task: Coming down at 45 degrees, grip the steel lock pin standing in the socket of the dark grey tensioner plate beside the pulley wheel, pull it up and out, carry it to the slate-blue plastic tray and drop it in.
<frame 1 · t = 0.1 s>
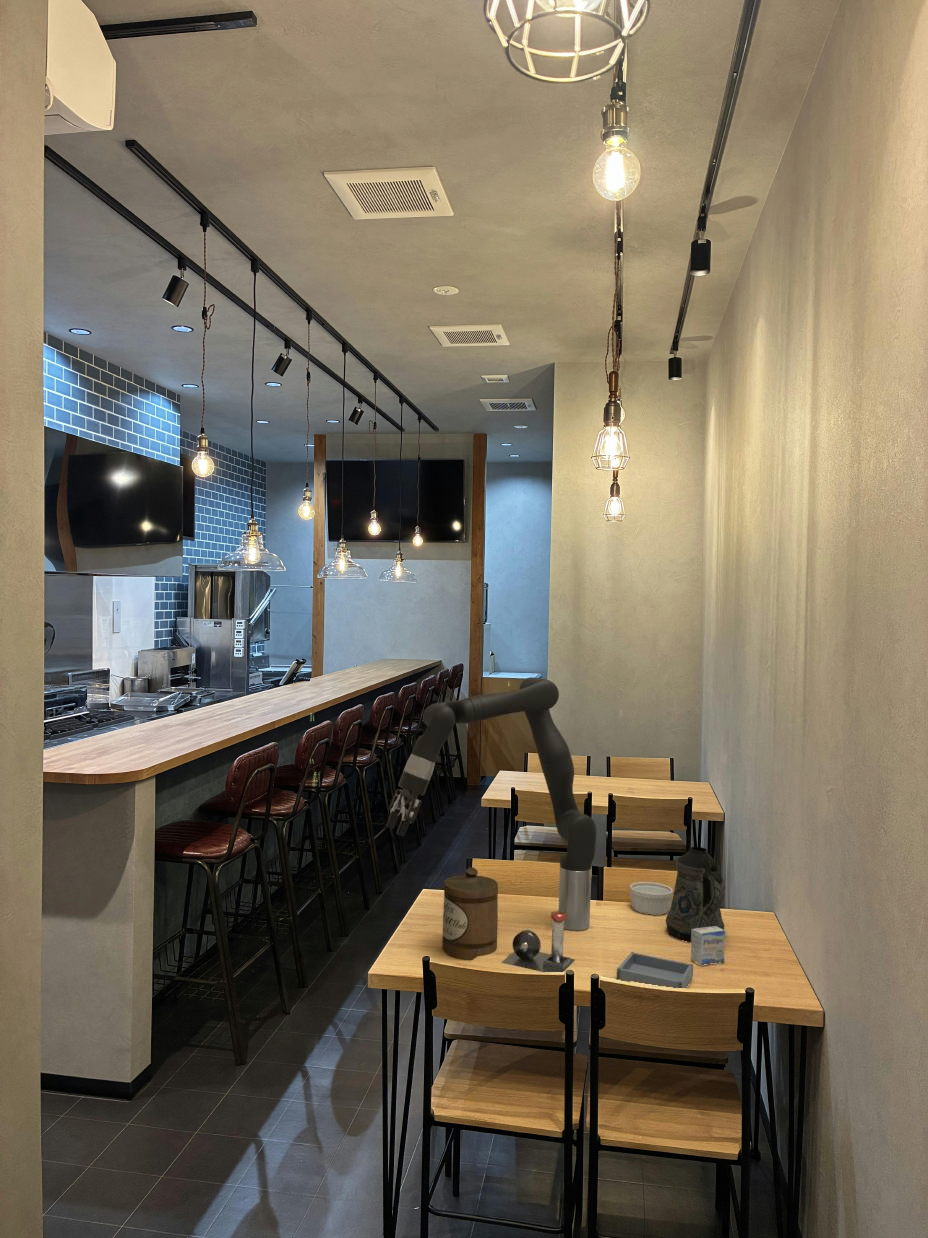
hand: (394, 831, 234), 31 cm above the table, tool tilted 20°, fingers open, 8 cm apart
beer stein: (699, 936, 252), on the table
tensioner: (538, 965, 226), on the table
wooden container: (469, 950, 235), on the table
tray: (655, 981, 218), on the table
lock pin: (556, 965, 224), point 1 cm above the table, touching tensioner
ramekin: (650, 910, 273), on the table
medicine box: (707, 962, 232), on the table
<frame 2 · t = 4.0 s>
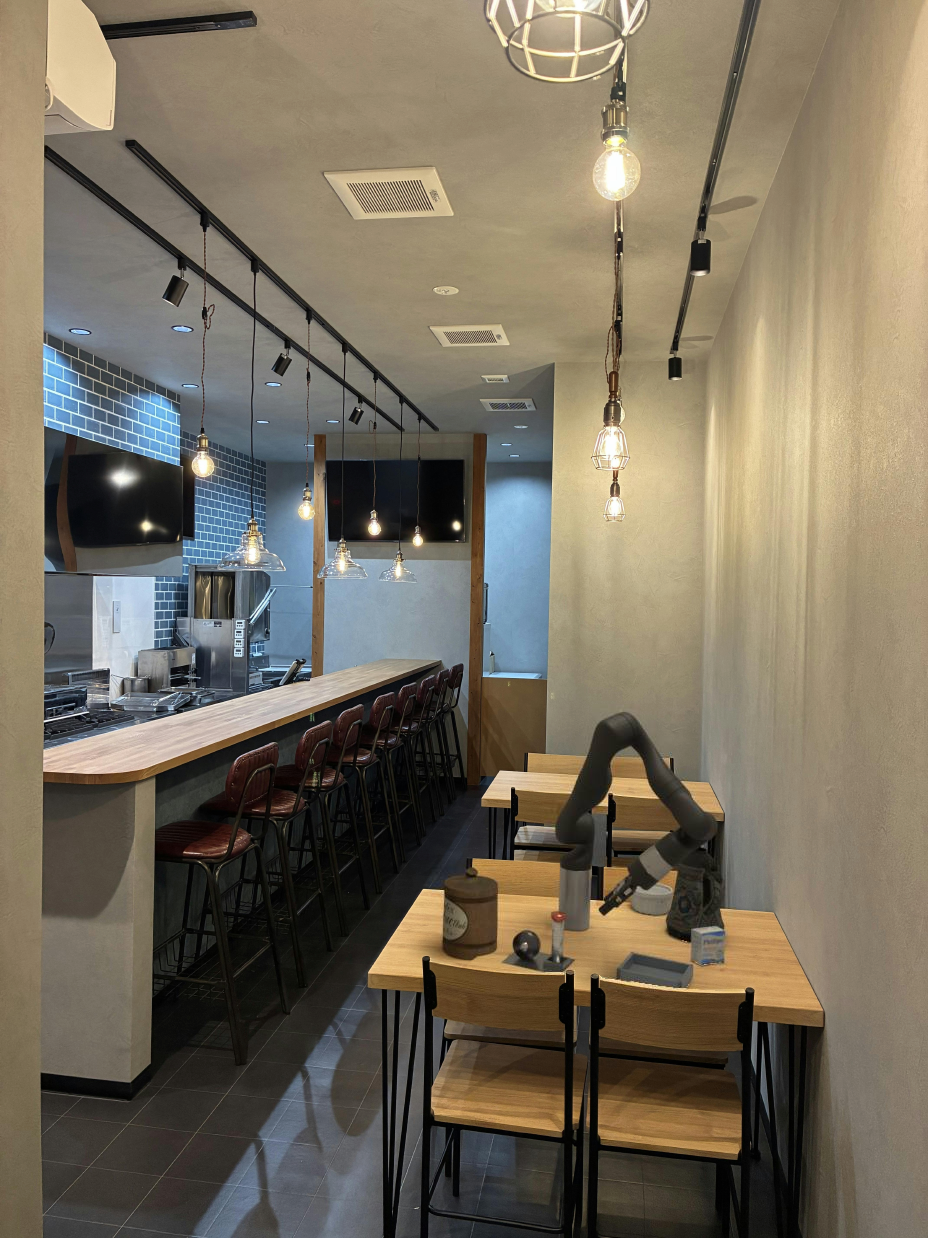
hand: (603, 907, 220), 17 cm above the table, tool tilted 45°, fingers open, 8 cm apart
nothing on the table moved.
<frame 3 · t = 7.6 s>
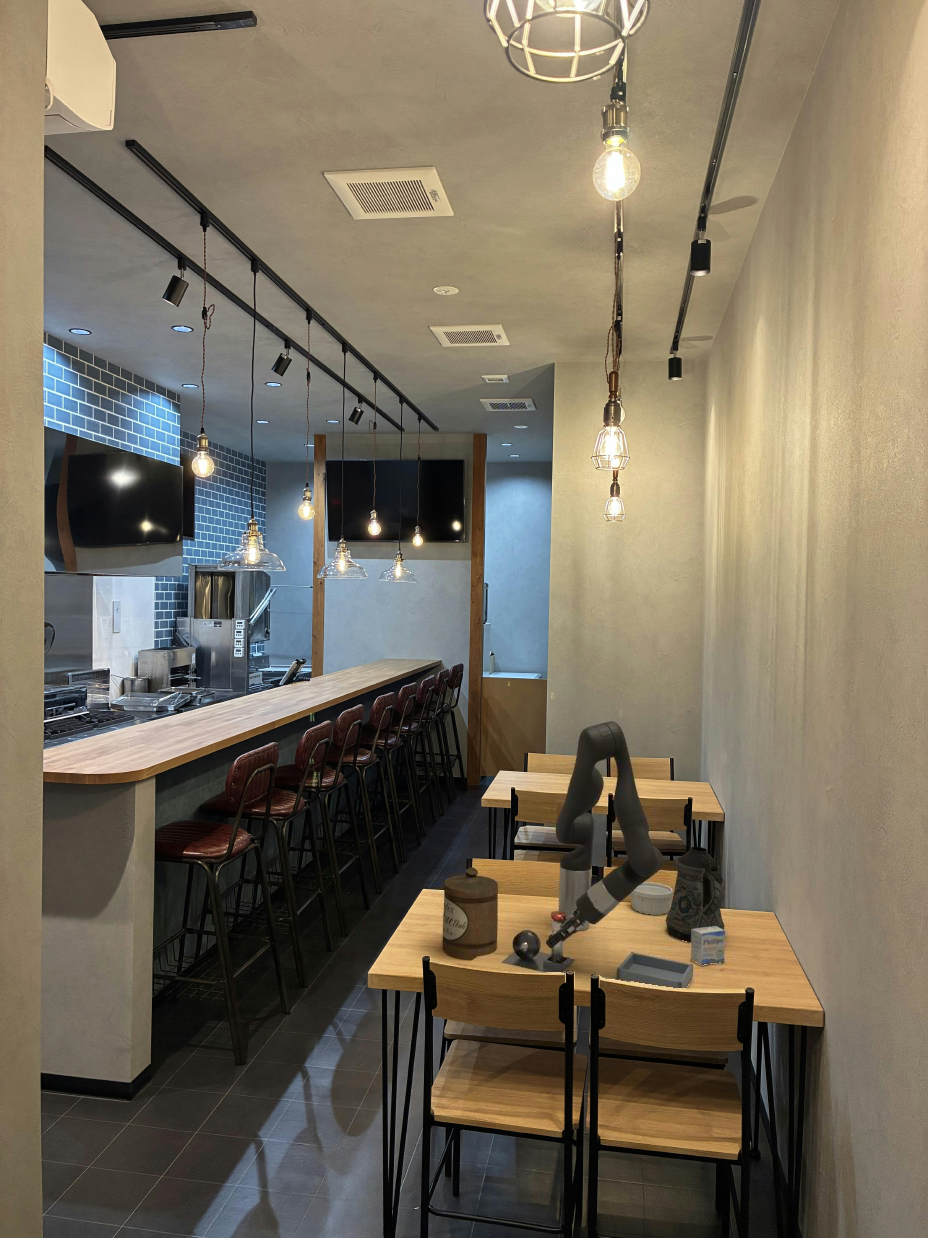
hand: (549, 942, 224), 6 cm above the table, tool tilted 45°, fingers closed on lock pin, 3 cm apart
lock pin: (556, 965, 224), point 1 cm above the table, touching gripper, tensioner
everything else where it was.
when the fingers open (9 cm above the table, at t = 13.5 s): lock pin drops 2 cm, resting on tray.
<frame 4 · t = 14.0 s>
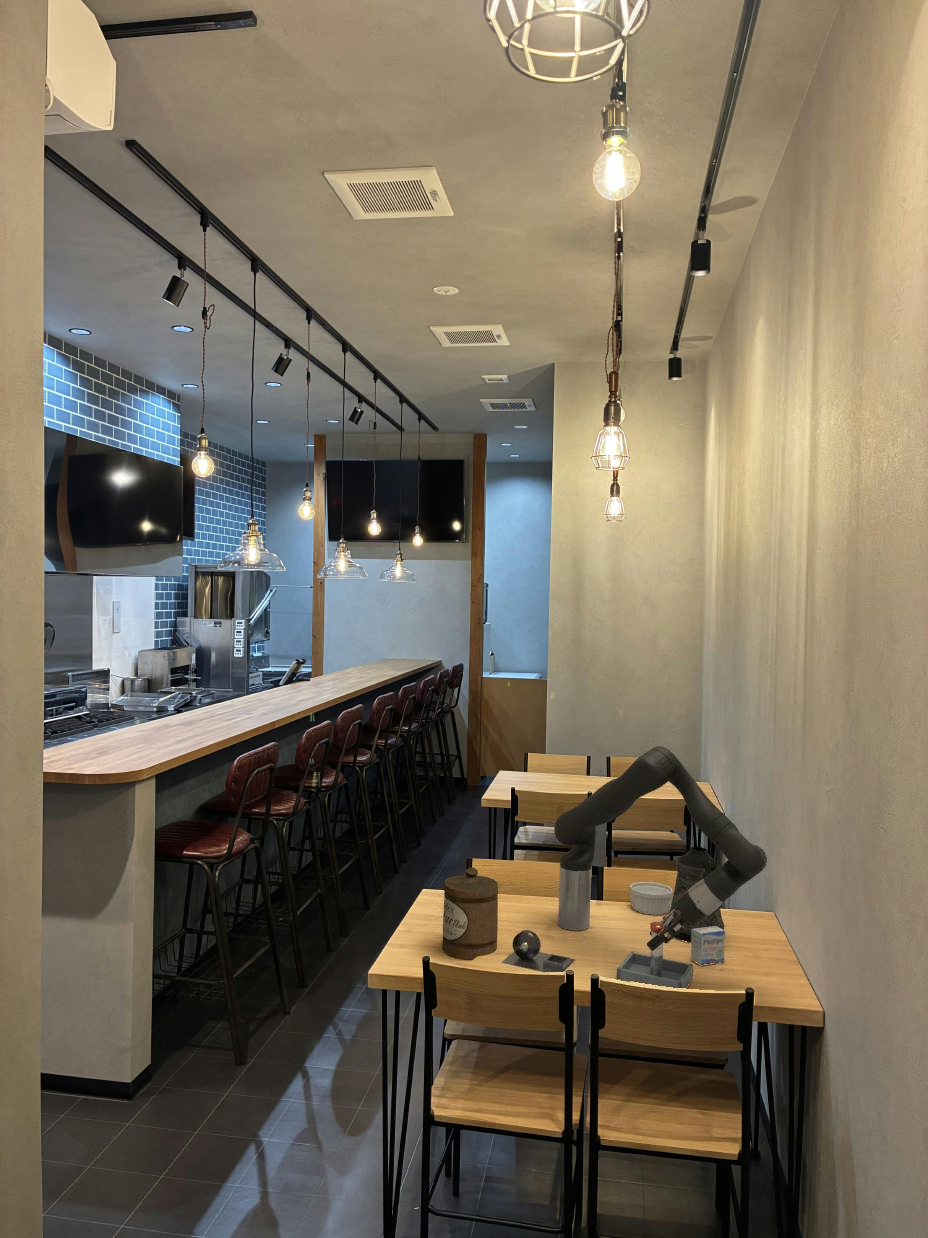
hand: (650, 942, 219), 10 cm above the table, tool tilted 45°, fingers open, 8 cm apart
lock pin: (655, 976, 218), point 1 cm above the table, touching tray
everything else where it was.
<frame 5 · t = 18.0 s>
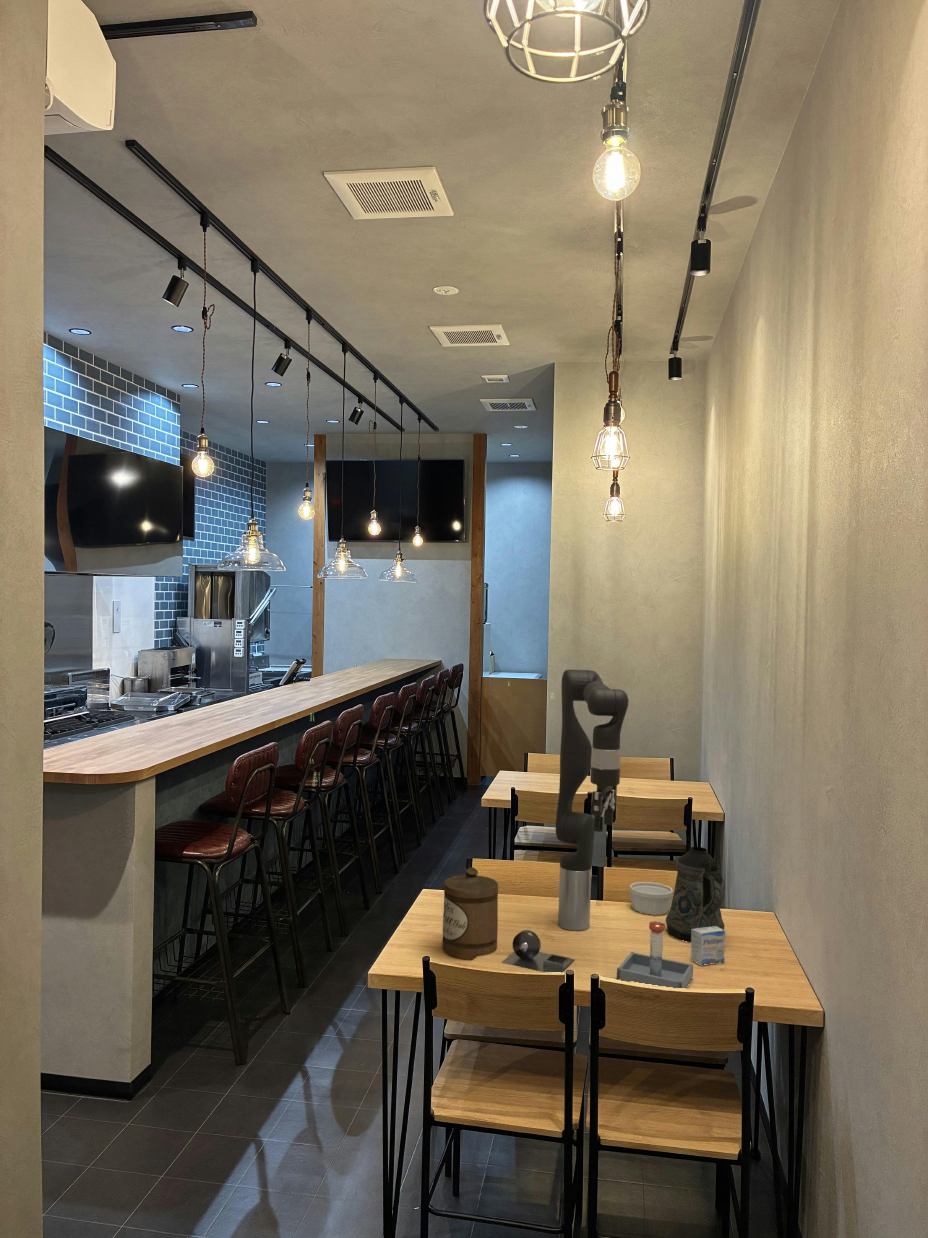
hand: (603, 828, 226), 36 cm above the table, tool pointing down, fingers open, 8 cm apart
nothing on the table moved.
at the end: lock pin inside the target area on the tray (0.1 cm from its centre), point 1.0 cm above the tray's base; the gripper is holding nothing; lock pin moved 24.8 cm from its start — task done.
